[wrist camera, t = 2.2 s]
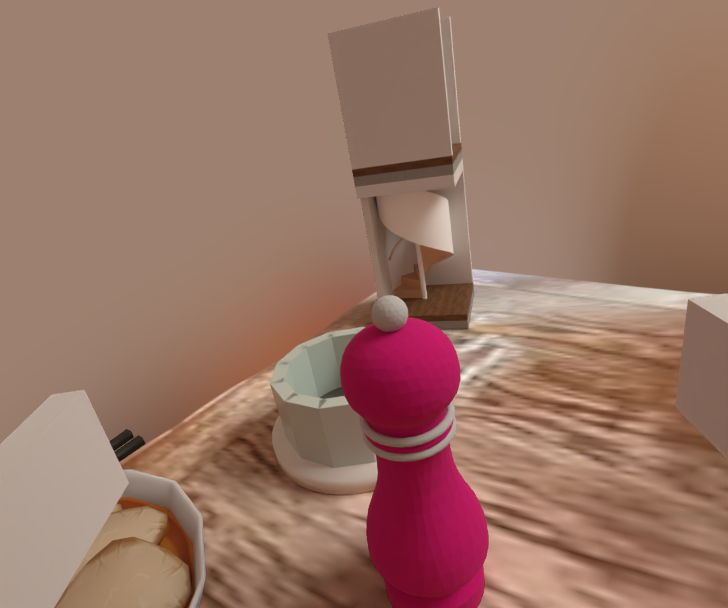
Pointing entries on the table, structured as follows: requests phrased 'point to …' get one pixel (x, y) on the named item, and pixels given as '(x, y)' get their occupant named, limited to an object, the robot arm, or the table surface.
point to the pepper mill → (415, 461)
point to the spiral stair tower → (408, 160)
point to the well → (320, 420)
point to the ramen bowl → (143, 547)
